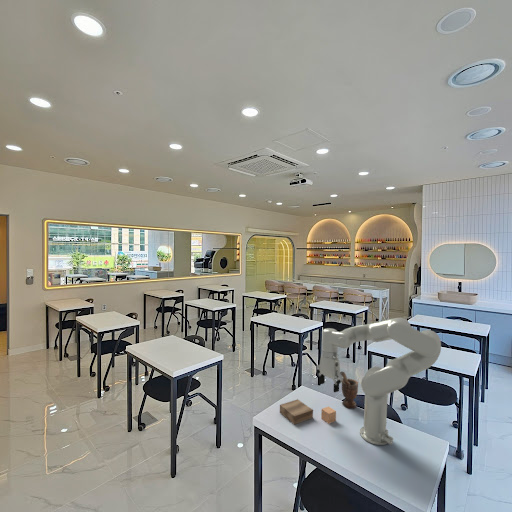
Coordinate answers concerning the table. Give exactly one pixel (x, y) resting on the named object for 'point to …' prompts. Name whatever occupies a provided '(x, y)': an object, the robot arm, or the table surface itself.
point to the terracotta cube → (328, 415)
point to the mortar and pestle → (349, 391)
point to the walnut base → (296, 411)
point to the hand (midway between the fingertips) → (328, 387)
